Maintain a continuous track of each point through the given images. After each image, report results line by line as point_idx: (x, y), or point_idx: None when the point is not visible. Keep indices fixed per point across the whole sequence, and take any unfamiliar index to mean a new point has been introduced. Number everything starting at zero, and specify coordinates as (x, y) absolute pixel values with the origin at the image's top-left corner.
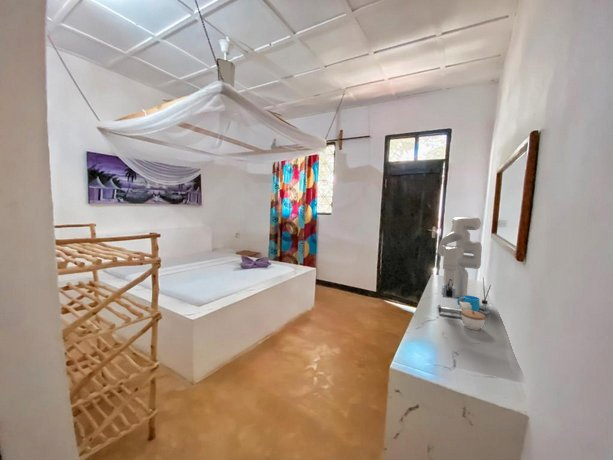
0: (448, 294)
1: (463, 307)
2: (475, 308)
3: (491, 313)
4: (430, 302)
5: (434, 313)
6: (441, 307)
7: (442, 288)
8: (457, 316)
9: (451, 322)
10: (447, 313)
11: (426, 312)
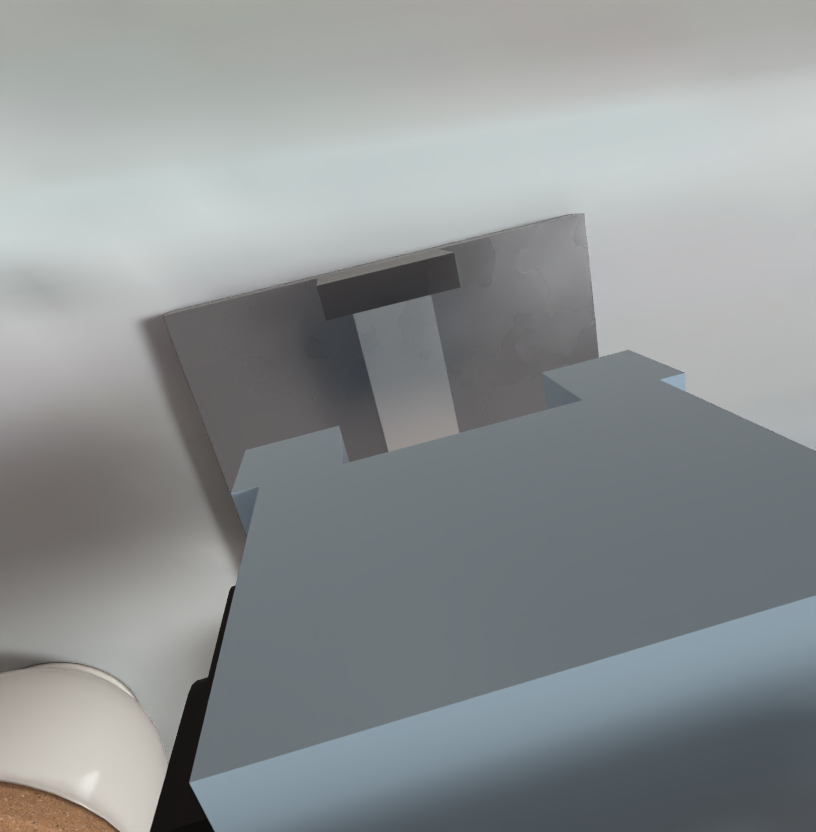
0: (193, 721)
1: None
2: None
3: None
4: (774, 50)
5: (199, 214)
6: (379, 323)
7: (594, 518)
8: None
9: (3, 508)
10: (281, 424)
11: (130, 55)
